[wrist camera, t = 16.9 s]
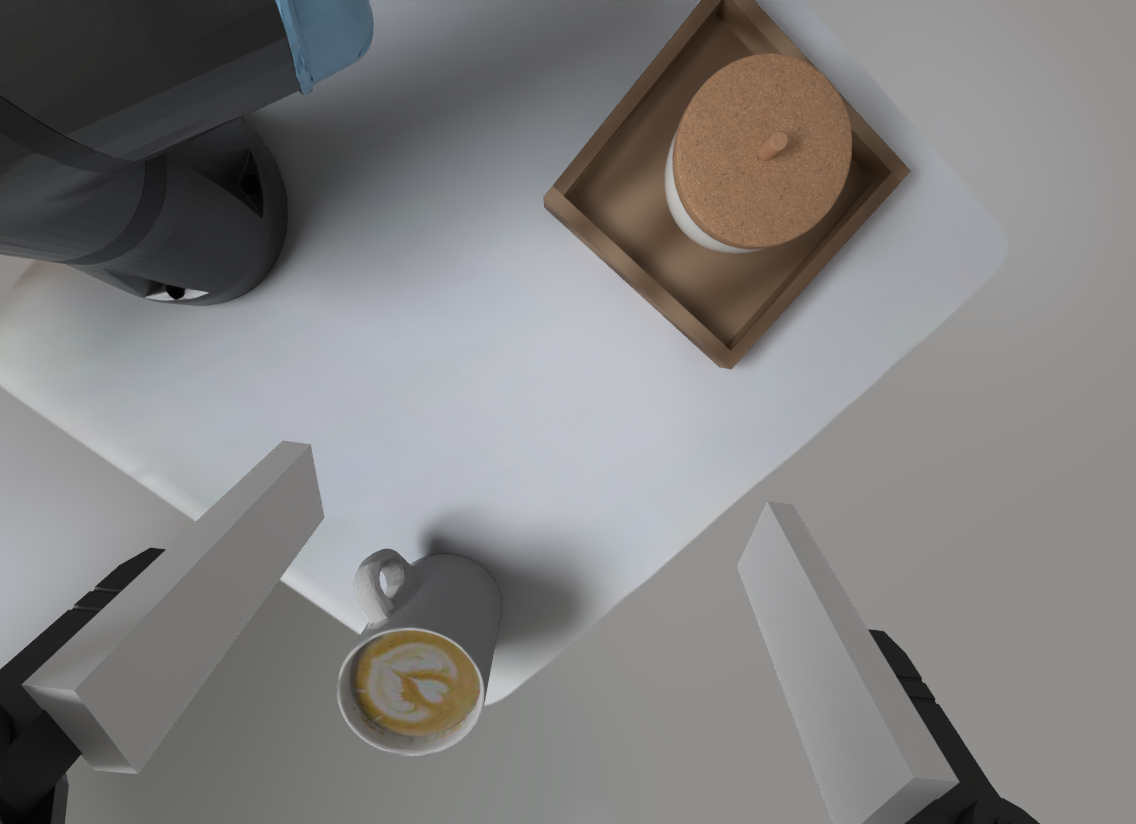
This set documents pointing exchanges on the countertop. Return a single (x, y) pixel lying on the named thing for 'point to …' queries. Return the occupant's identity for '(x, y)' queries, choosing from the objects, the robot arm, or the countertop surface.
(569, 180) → the walnut square tray
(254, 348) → the countertop surface
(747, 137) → the lidded jar
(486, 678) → the coffee mug
